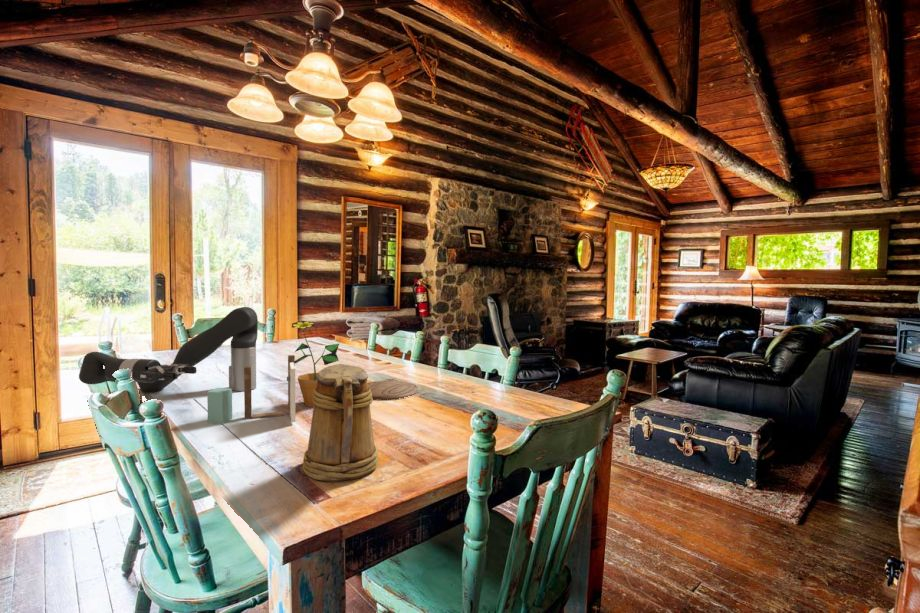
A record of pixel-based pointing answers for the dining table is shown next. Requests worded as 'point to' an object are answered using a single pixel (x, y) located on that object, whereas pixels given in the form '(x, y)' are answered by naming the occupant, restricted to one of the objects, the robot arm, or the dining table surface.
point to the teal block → (219, 405)
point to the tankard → (341, 426)
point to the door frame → (248, 394)
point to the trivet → (392, 389)
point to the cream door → (292, 391)
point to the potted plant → (310, 380)
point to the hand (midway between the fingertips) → (186, 373)
